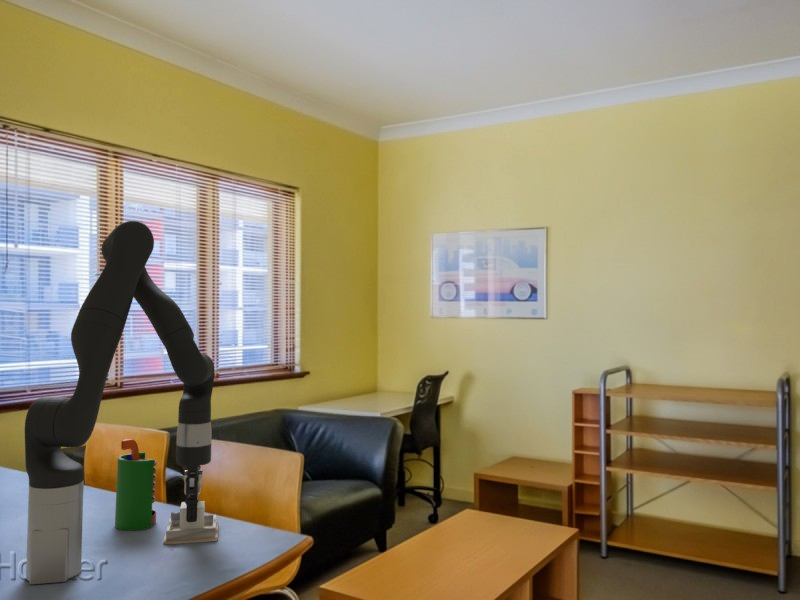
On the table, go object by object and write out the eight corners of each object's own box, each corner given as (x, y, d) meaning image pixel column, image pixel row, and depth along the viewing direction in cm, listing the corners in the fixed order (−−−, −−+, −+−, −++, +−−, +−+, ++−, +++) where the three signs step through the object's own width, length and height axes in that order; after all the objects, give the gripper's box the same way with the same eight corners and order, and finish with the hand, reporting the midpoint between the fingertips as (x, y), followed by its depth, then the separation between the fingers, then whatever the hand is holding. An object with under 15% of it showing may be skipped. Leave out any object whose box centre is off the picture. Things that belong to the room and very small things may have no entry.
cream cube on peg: (203, 534, 145) (203, 507, 146) (169, 536, 144) (170, 509, 144) (204, 527, 150) (204, 500, 150) (171, 529, 148) (172, 502, 149)
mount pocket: (217, 540, 143) (217, 528, 143) (163, 544, 140) (163, 532, 140) (218, 524, 154) (218, 513, 154) (167, 527, 151) (167, 516, 151)
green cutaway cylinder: (164, 524, 153) (166, 439, 154) (126, 533, 147) (129, 444, 147) (144, 515, 160) (146, 433, 161) (107, 523, 154) (109, 437, 154)
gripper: (210, 447, 142) (208, 526, 141) (212, 435, 156) (210, 506, 155) (174, 449, 140) (172, 528, 139) (178, 436, 154) (177, 508, 153)
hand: (192, 516), depth 147 cm, fingers open, 6 cm apart
